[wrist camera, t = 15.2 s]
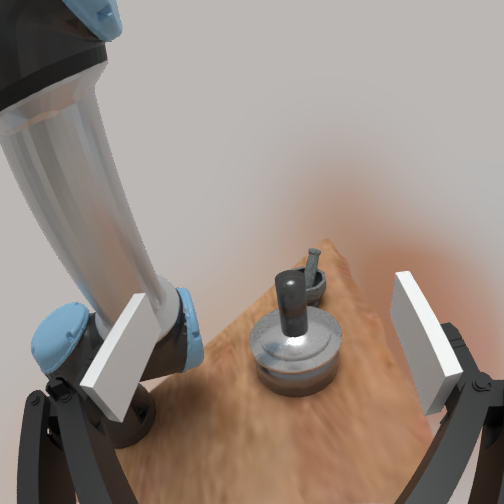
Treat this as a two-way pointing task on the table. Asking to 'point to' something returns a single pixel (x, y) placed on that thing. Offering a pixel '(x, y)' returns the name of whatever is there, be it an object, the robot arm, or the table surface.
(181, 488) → the table surface
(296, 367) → the cooker pot
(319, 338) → the steel lid
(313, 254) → the mortar and pestle
